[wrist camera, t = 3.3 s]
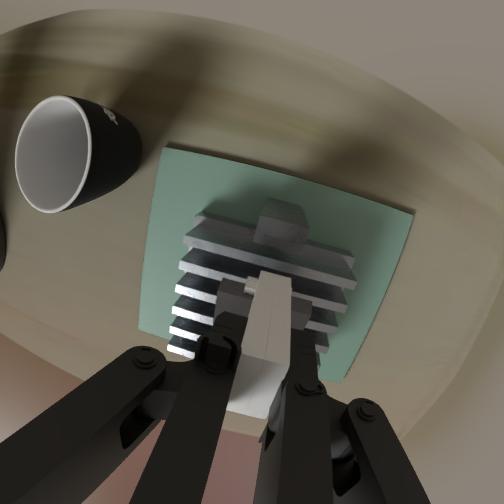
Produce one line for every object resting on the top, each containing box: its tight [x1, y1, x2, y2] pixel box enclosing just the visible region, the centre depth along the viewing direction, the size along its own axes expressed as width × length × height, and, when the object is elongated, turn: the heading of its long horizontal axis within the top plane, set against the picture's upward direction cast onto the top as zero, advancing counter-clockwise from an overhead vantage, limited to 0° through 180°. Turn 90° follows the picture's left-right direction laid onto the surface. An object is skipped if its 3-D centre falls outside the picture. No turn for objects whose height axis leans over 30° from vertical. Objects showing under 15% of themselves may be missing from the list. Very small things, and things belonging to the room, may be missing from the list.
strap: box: [213, 276, 312, 330], centre depth 20 cm, size 5×14×1 cm, turn 166°
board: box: [138, 147, 414, 383], centre depth 28 cm, size 24×20×1 cm
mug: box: [15, 95, 141, 213], centre depth 21 cm, size 12×9×10 cm
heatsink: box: [168, 197, 357, 371], centre depth 24 cm, size 14×16×9 cm
